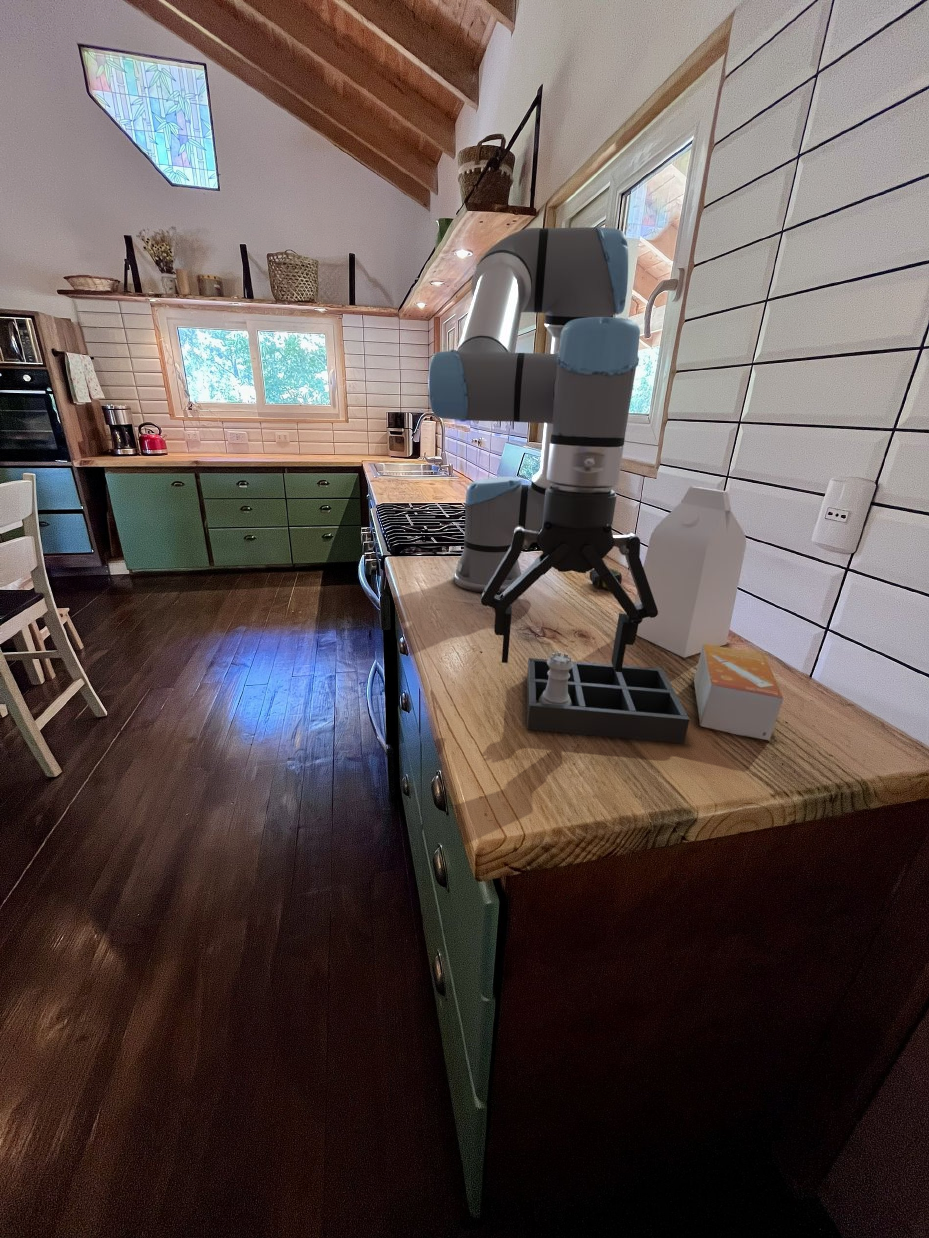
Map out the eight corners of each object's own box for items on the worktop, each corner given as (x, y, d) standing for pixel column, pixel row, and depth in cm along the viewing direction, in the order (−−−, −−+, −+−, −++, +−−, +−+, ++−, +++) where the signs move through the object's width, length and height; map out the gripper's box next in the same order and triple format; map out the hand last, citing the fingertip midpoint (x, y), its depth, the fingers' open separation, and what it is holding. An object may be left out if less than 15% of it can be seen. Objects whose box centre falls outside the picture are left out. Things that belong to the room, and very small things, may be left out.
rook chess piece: (571, 724, 62) (579, 667, 59) (535, 718, 62) (541, 662, 59) (571, 705, 66) (579, 651, 63) (538, 700, 66) (543, 646, 63)
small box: (764, 652, 70) (785, 698, 58) (752, 691, 72) (770, 742, 61) (701, 642, 72) (710, 684, 61) (692, 680, 75) (699, 727, 63)
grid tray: (526, 678, 73) (528, 657, 72) (657, 689, 72) (662, 668, 70) (527, 729, 61) (529, 705, 60) (684, 744, 60) (690, 719, 58)
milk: (726, 644, 87) (766, 492, 77) (684, 657, 81) (721, 496, 71) (669, 620, 96) (698, 482, 86) (627, 630, 91) (653, 485, 81)
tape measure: (587, 581, 117) (589, 566, 116) (617, 583, 117) (619, 568, 115) (591, 591, 111) (593, 575, 110) (622, 593, 110) (625, 577, 109)
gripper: (461, 486, 51) (456, 668, 59) (714, 498, 49) (672, 686, 57) (469, 476, 58) (463, 641, 66) (691, 487, 55) (656, 656, 64)
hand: (559, 662), depth 61 cm, fingers open, 13 cm apart
